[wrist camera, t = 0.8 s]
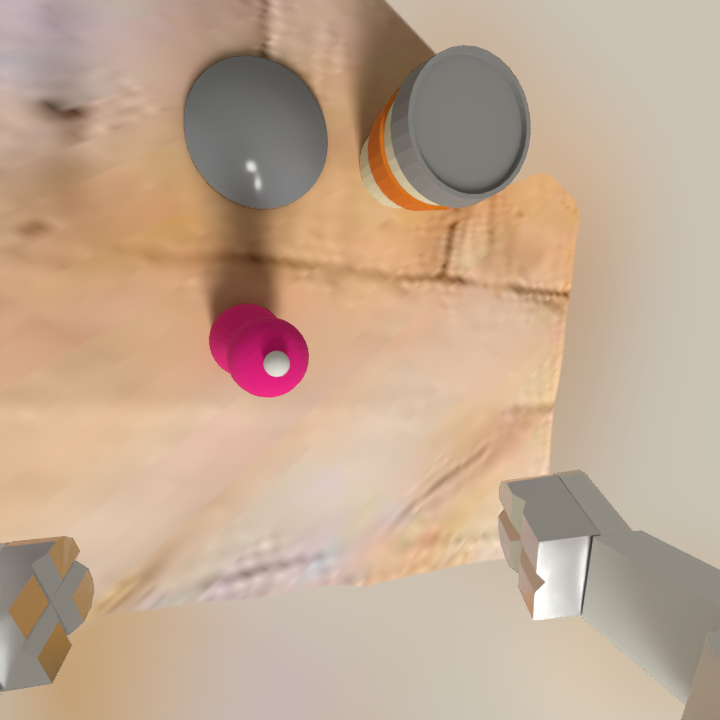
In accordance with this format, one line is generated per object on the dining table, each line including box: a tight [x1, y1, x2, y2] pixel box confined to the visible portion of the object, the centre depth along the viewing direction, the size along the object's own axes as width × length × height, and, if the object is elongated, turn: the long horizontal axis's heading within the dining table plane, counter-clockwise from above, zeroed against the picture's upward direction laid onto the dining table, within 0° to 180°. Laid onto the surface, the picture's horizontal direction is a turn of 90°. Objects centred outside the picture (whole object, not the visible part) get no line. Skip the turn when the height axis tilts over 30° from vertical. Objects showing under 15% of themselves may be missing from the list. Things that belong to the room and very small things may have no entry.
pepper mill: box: [209, 304, 309, 397], centre depth 40 cm, size 7×7×20 cm
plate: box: [184, 56, 328, 209], centre depth 47 cm, size 14×14×1 cm
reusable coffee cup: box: [359, 45, 530, 211], centre depth 46 cm, size 12×13×15 cm
